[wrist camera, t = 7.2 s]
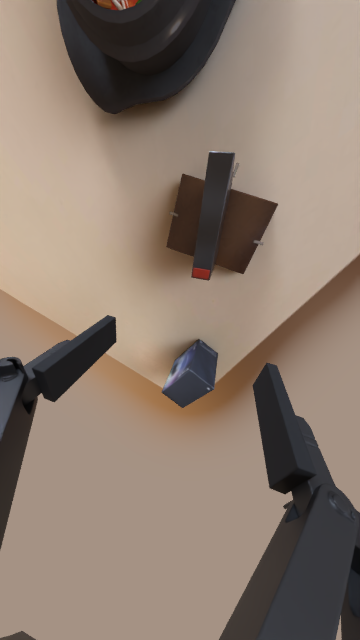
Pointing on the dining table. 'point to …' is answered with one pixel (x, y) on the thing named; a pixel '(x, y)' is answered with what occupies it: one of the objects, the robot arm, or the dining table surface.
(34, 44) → the dining table surface
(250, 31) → the dining table surface
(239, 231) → the frame stand
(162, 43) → the casserole
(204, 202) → the frame
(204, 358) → the small box
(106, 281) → the dining table surface
